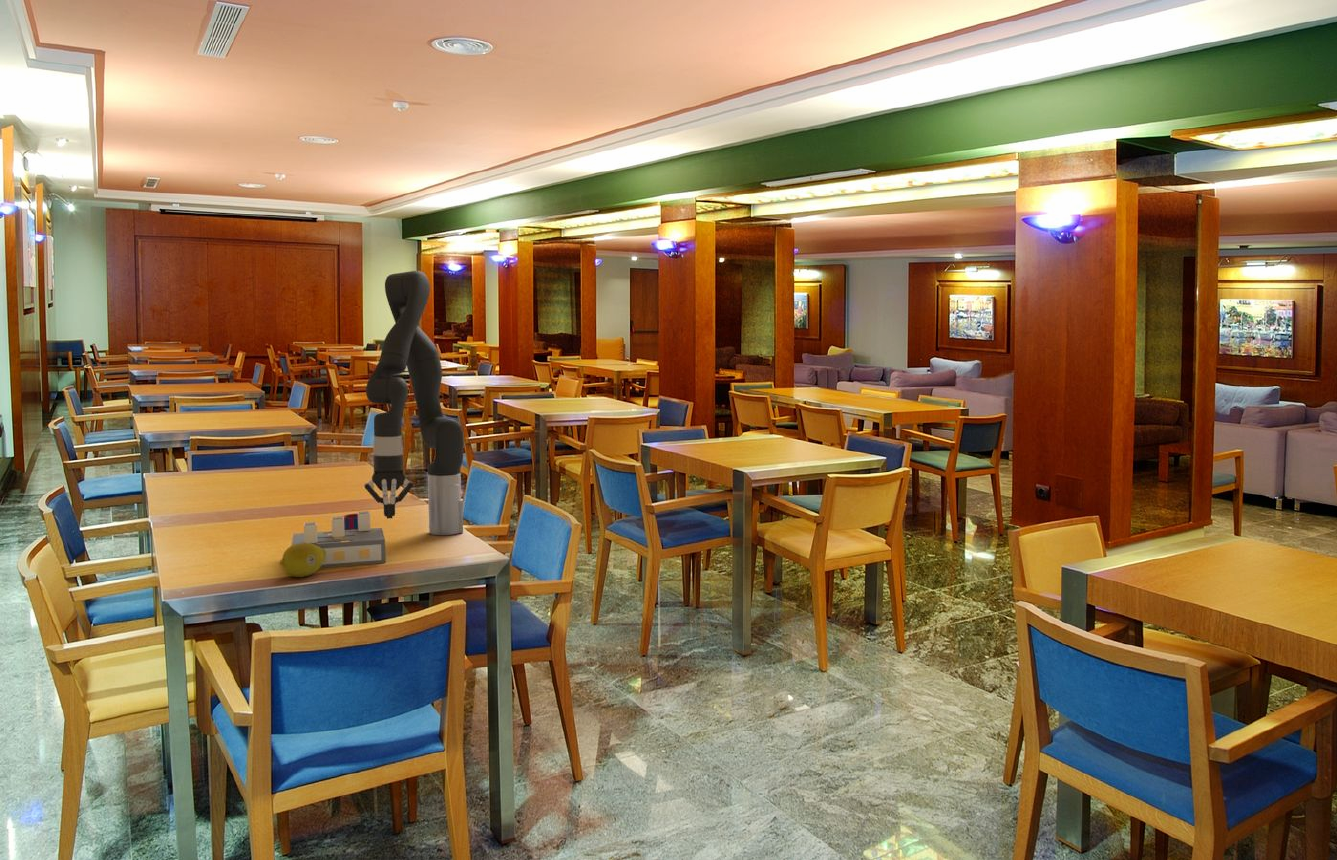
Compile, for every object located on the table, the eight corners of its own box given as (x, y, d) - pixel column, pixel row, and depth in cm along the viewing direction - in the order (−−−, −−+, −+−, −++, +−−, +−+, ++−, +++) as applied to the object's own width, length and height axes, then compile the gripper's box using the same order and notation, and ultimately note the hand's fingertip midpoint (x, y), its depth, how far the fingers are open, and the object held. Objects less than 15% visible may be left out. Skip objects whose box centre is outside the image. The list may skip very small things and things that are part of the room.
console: (382, 550, 260) (381, 527, 260) (385, 563, 246) (385, 539, 245) (294, 556, 253) (293, 533, 252) (292, 570, 238) (291, 545, 238)
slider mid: (344, 534, 251) (343, 516, 250) (344, 536, 248) (344, 518, 247) (332, 535, 250) (331, 516, 249) (332, 537, 247) (331, 519, 246)
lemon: (284, 583, 227) (283, 549, 226) (276, 576, 233) (274, 543, 232) (331, 576, 233) (330, 543, 232) (322, 569, 239) (321, 537, 238)
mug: (360, 542, 269) (359, 518, 268) (328, 540, 272) (327, 516, 271) (373, 537, 275) (372, 514, 275) (343, 535, 278) (342, 512, 278)
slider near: (317, 540, 243) (316, 521, 243) (317, 542, 241) (316, 524, 240) (304, 541, 242) (303, 522, 242) (304, 543, 240) (303, 525, 239)
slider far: (370, 528, 258) (369, 510, 258) (370, 530, 255) (369, 512, 255) (358, 529, 257) (357, 511, 257) (358, 531, 254) (357, 513, 254)
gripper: (413, 450, 262) (414, 514, 264) (361, 452, 258) (363, 516, 260) (415, 453, 255) (416, 519, 257) (362, 455, 251) (363, 521, 252)
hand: (389, 517), depth 258 cm, fingers closed
